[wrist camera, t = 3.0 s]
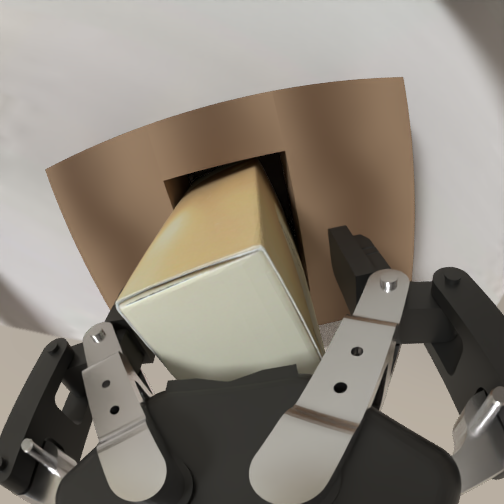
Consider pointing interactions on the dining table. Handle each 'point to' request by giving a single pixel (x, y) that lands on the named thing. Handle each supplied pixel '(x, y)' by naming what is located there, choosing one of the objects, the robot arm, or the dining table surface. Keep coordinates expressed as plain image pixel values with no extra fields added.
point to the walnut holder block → (244, 147)
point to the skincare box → (224, 283)
